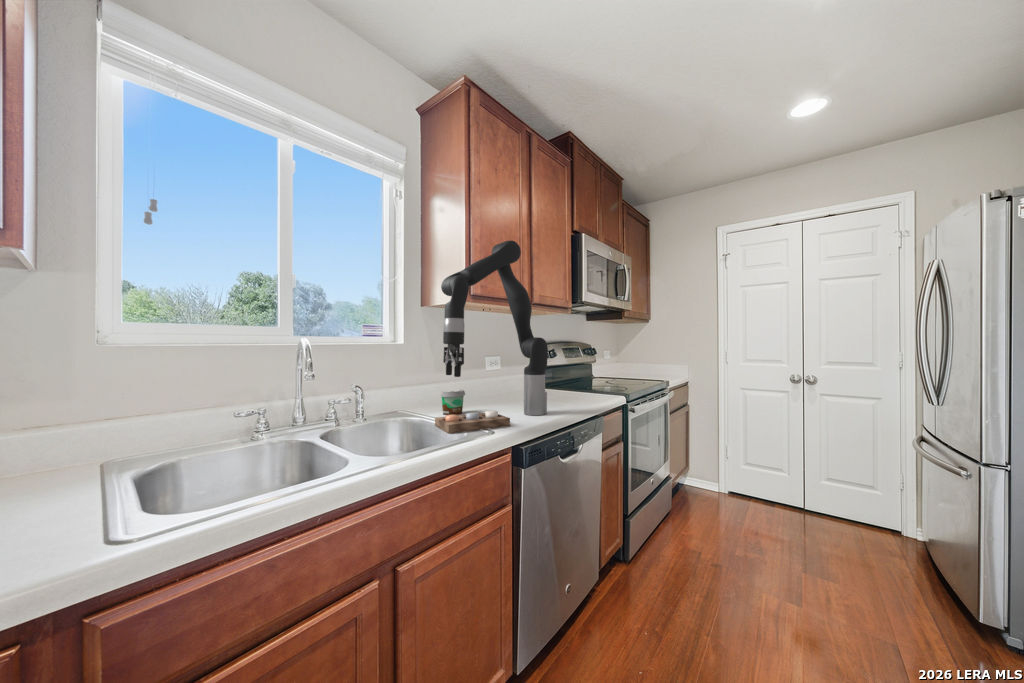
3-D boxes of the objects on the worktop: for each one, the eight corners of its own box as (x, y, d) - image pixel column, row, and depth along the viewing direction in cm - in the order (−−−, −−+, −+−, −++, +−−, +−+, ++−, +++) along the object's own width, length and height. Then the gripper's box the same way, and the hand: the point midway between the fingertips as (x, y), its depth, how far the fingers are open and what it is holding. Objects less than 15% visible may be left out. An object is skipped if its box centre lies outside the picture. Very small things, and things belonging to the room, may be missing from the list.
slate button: (475, 420, 145) (475, 412, 145) (481, 422, 141) (481, 414, 141) (463, 421, 142) (463, 413, 142) (469, 423, 138) (469, 415, 138)
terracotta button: (455, 422, 141) (455, 414, 141) (460, 424, 137) (460, 416, 137) (443, 423, 138) (443, 415, 138) (448, 426, 134) (448, 417, 134)
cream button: (494, 418, 149) (494, 410, 149) (500, 420, 145) (500, 412, 145) (483, 419, 146) (483, 411, 146) (488, 421, 142) (488, 413, 142)
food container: (450, 417, 158) (450, 392, 158) (440, 415, 162) (440, 391, 162) (471, 412, 168) (471, 390, 168) (461, 411, 172) (461, 388, 172)
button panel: (492, 419, 154) (492, 411, 154) (509, 426, 142) (509, 418, 142) (434, 425, 142) (435, 417, 142) (448, 433, 129) (448, 424, 129)
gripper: (471, 331, 134) (470, 377, 134) (456, 332, 146) (455, 374, 146) (451, 330, 130) (450, 377, 130) (437, 331, 143) (436, 374, 142)
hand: (452, 375), depth 138 cm, fingers open, 8 cm apart
